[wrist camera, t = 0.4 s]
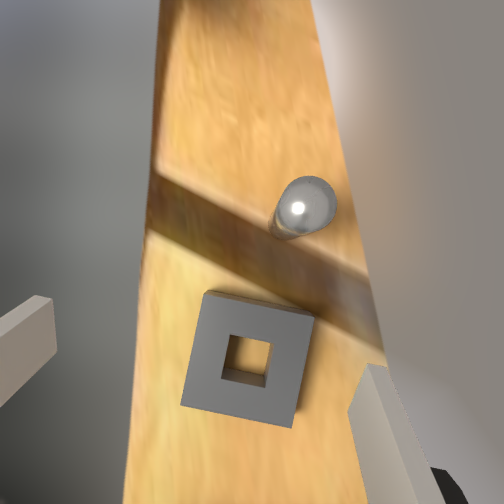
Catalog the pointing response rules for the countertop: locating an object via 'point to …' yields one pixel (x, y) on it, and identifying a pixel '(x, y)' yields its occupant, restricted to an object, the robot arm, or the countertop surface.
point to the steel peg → (303, 208)
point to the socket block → (239, 382)
